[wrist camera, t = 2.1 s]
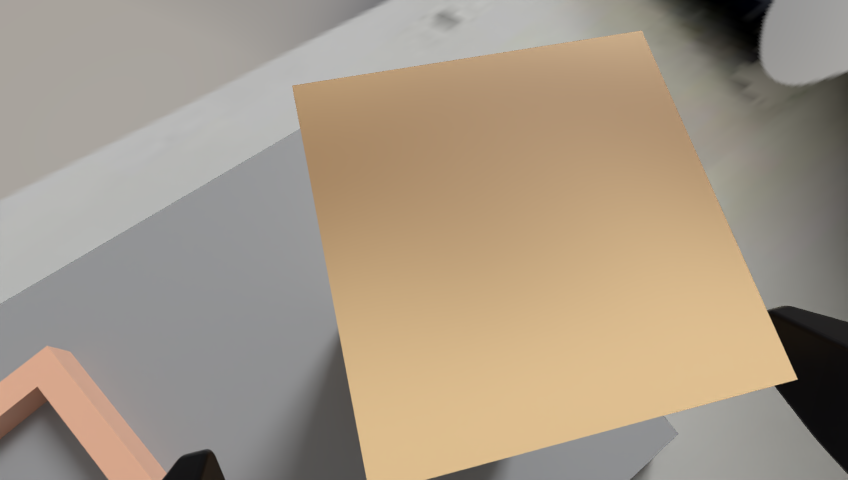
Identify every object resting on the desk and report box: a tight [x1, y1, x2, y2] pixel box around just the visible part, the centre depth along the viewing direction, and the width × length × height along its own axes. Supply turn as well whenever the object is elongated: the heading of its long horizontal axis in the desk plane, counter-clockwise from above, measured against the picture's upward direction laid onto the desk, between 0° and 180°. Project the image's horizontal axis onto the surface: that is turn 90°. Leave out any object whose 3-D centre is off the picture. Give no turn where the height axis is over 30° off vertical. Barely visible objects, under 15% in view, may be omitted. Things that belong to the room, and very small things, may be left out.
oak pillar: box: [292, 31, 797, 480], centre depth 12 cm, size 4×4×12 cm
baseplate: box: [0, 129, 678, 480], centre depth 17 cm, size 22×16×2 cm
